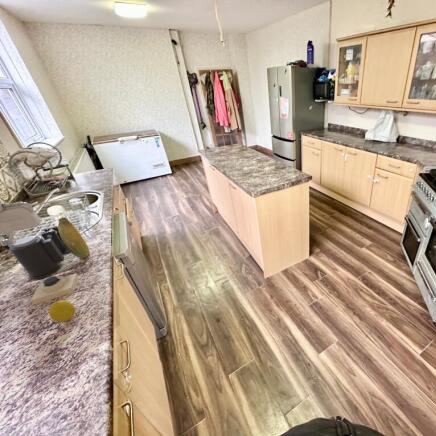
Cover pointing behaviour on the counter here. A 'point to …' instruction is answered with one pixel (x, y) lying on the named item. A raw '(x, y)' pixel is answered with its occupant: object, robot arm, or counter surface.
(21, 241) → the kettle
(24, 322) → the counter surface
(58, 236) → the black handle
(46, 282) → the power button
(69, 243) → the vegetable
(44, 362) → the counter surface
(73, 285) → the socket block
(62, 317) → the lemon
